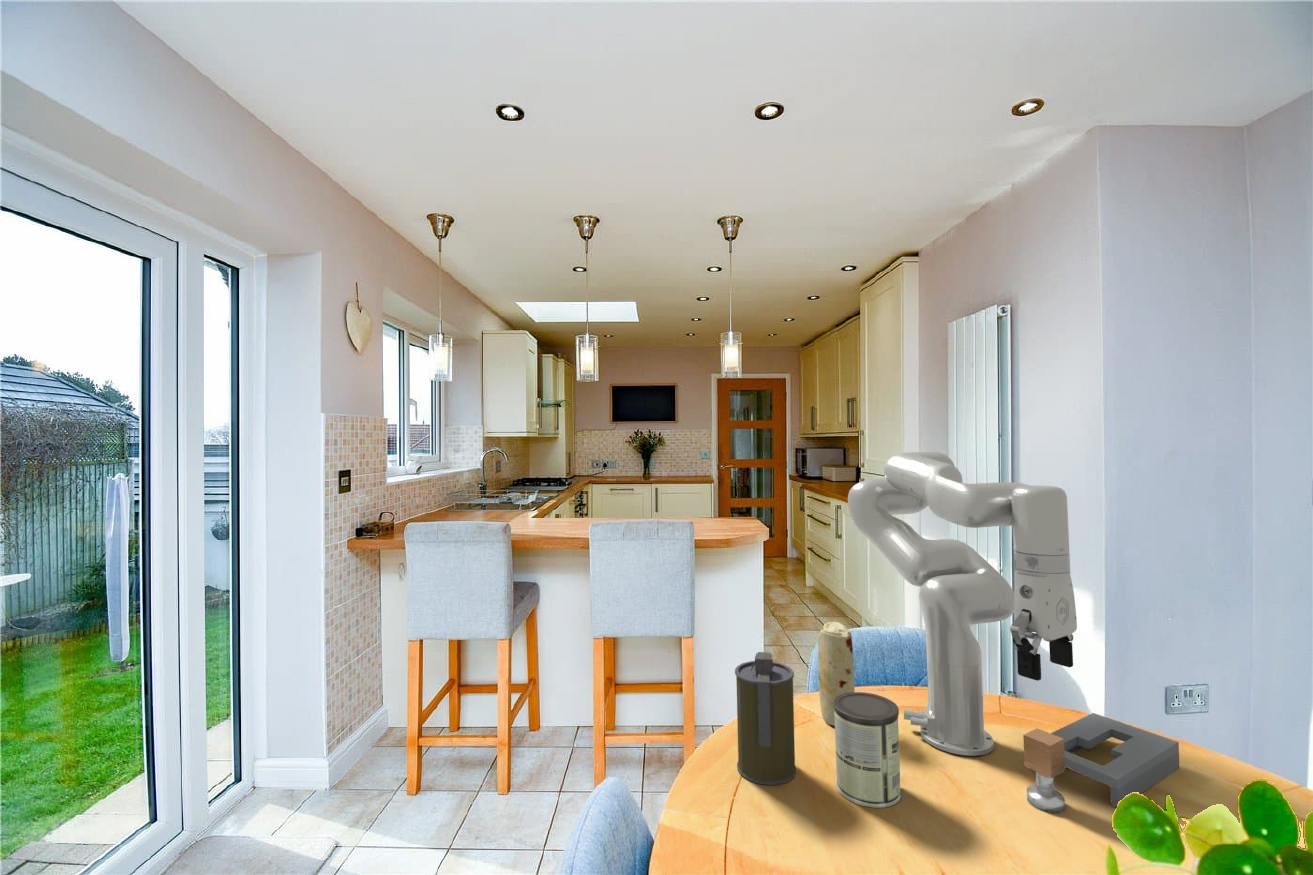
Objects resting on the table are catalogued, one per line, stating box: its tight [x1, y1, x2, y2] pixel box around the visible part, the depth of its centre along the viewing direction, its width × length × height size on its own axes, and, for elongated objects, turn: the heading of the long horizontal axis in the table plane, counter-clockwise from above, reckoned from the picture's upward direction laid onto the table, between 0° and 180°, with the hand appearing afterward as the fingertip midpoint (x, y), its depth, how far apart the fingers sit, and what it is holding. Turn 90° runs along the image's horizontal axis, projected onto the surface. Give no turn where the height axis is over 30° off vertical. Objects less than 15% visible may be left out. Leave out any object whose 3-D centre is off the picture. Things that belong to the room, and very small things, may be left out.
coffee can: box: [833, 691, 902, 809], centre depth 97 cm, size 10×10×14 cm
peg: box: [1023, 728, 1066, 814], centre depth 92 cm, size 5×5×10 cm
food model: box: [817, 621, 855, 727], centre depth 121 cm, size 10×7×20 cm
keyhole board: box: [1049, 712, 1180, 808], centre depth 101 cm, size 22×13×4 cm, turn 119°
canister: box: [734, 651, 797, 786], centre depth 103 cm, size 11×10×20 cm
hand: (1045, 670), depth 92 cm, fingers open, 9 cm apart
